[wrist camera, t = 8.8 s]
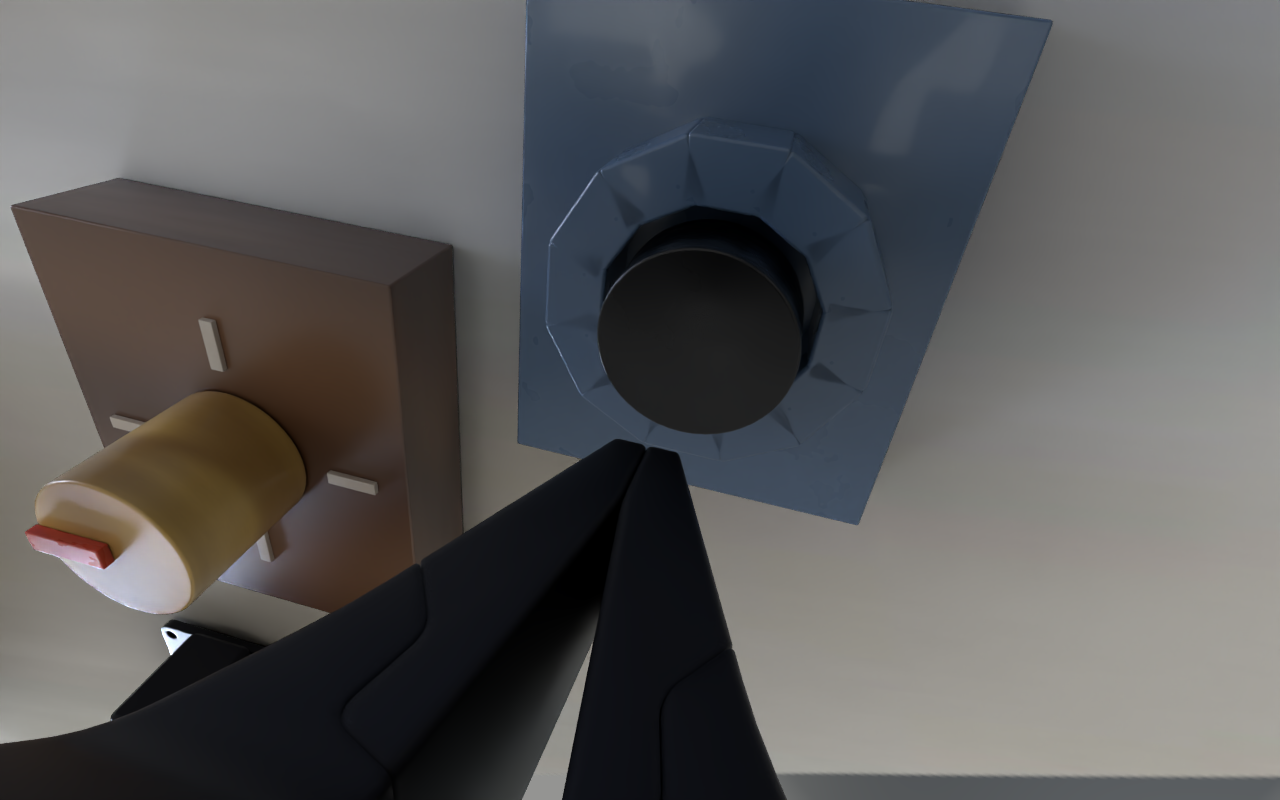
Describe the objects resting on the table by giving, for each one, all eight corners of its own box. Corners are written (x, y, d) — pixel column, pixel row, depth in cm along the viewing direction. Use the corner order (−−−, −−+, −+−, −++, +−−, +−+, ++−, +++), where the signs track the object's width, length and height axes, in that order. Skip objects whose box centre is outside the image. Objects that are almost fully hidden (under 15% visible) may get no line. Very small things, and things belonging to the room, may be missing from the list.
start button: (780, 406, 14) (774, 454, 12) (612, 369, 14) (588, 411, 13) (826, 238, 12) (825, 271, 10) (630, 201, 12) (605, 229, 11)
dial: (293, 408, 17) (153, 515, 14) (317, 523, 19) (201, 643, 16) (158, 376, 18) (-10, 471, 14) (196, 492, 20) (58, 600, 16)
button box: (856, 484, 18) (861, 579, 15) (539, 411, 19) (488, 484, 16) (1028, 17, 12) (1092, 24, 9) (558, -45, 13) (483, -58, 10)
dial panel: (464, 572, 24) (419, 644, 21) (214, 504, 25) (142, 563, 22) (453, 244, 17) (385, 288, 15) (118, 176, 19) (1, 206, 16)
